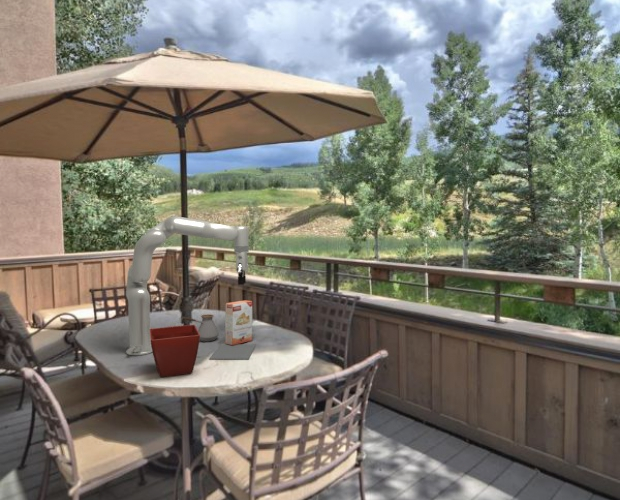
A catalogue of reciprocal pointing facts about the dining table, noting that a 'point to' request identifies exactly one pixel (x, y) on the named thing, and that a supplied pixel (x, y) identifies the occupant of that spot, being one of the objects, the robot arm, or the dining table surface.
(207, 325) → the coffee pot
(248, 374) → the dining table surface
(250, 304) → the cracker box
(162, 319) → the dining table surface
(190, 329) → the plant pot
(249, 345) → the mat
